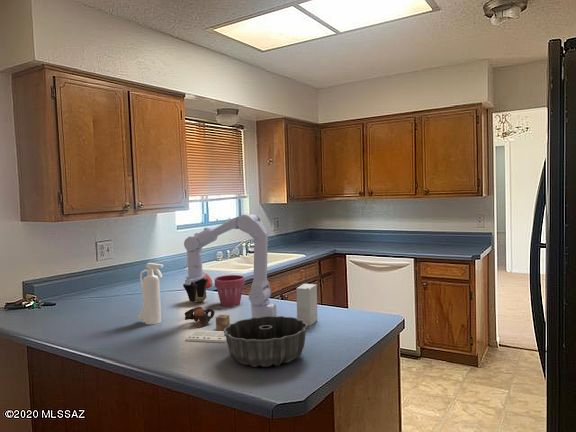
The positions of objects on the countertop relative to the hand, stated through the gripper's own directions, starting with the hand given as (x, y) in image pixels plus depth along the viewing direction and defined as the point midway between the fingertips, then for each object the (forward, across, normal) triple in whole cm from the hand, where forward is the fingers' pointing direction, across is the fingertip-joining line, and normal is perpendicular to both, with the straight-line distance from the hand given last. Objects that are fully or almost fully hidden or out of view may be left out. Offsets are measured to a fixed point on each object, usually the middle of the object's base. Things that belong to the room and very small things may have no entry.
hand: (196, 299), depth 182 cm
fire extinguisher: (+10, 0, -21) cm, 23 cm away
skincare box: (+10, -6, +44) cm, 46 cm away
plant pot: (+10, -32, +1) cm, 34 cm away
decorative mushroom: (+10, -35, -16) cm, 39 cm away
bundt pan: (+10, +33, +39) cm, 52 cm away
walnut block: (+10, +6, +13) cm, 18 cm away
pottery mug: (+10, +1, +1) cm, 10 cm away
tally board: (+10, +16, +13) cm, 23 cm away
